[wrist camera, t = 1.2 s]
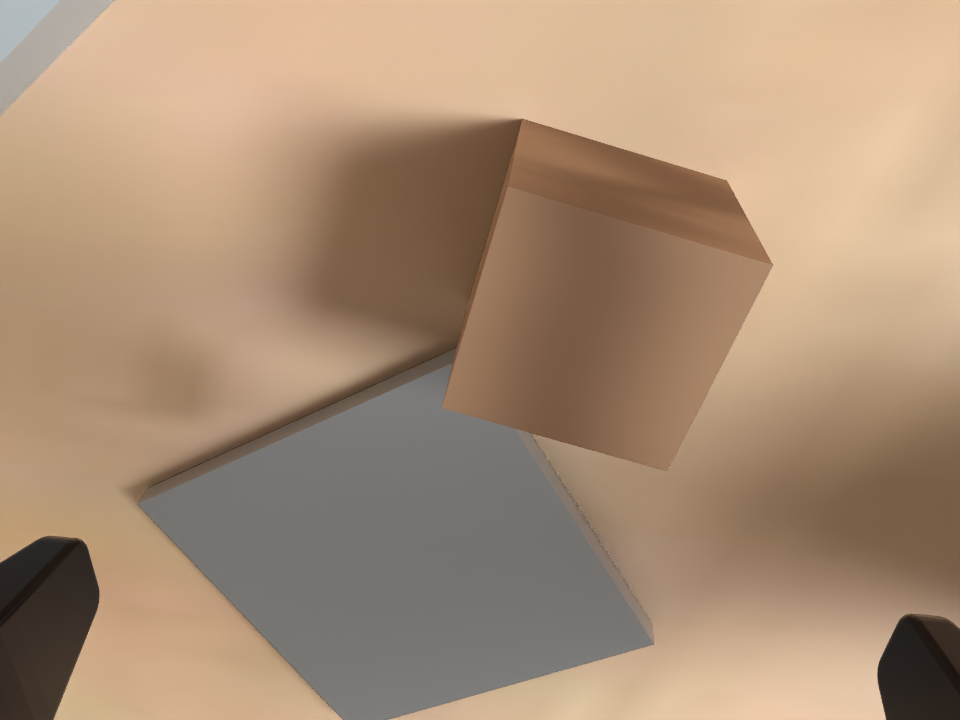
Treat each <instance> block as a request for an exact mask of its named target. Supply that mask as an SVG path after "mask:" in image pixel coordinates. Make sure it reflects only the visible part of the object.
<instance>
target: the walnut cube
mask: <svg viewBox="0 0 960 720" xmlns="http://www.w3.org/2000/svg"><path fill="white" fill-rule="evenodd" d="M772 266H773V264H772V263H771V261H770V259H769V257H768V255H767V253H766V252H765V250H764V248H763V246H762V244H761V242H760V241H759V239H758V237H757V235H756V233H755V231H754V230H753V228H752V226H751V224H750V222H749V220H748V219H747V217H746V215H745V213H744V211H743V209H742V208H741V206H740V204H739V202H738V200H737V198H736V197H735V195H734V193H733V191H732V189H731V187H730V186H729V184H728V182H727V181H726V180H723V179H720V178H716V177H713V176H710V175H706V174H703V173H700V172H696V171H693V170H690V169H687V168H683V167H680V166H677V165H673V164H670V163H667V162H663V161H660V160H657V159H653V158H650V157H647V156H644V155H640V154H637V153H634V152H630V151H627V150H624V149H620V148H617V147H614V146H611V145H607V144H604V143H601V142H597V141H594V140H591V139H587V138H584V137H581V136H577V135H574V134H571V133H568V132H564V131H561V130H558V129H554V128H551V127H548V126H544V125H541V124H538V123H535V122H531V121H528V120H525V119H522V122H521V125H520V129H519V132H518V136H517V139H516V142H515V146H514V149H513V153H512V156H511V159H510V163H509V166H508V169H507V173H506V176H505V180H504V183H503V186H502V190H501V193H500V196H499V200H498V203H497V207H496V210H495V213H494V217H493V220H492V224H491V227H490V230H489V234H488V237H487V240H486V244H485V247H484V251H483V254H482V257H481V261H480V264H479V268H478V271H477V274H476V278H475V281H474V284H473V288H472V291H471V295H470V298H469V301H468V305H467V309H466V313H465V317H464V321H463V325H462V329H461V333H460V337H459V341H458V345H457V349H456V353H455V357H454V361H453V365H452V369H451V373H450V377H449V380H448V384H447V388H446V392H445V396H444V400H443V404H442V408H444V409H447V410H451V411H454V412H458V413H461V414H465V415H469V416H472V417H476V418H479V419H483V420H486V421H490V422H493V423H497V424H501V425H504V426H508V427H511V428H515V429H518V430H522V431H526V432H529V433H533V434H536V435H540V436H543V437H547V438H550V439H554V440H558V441H561V442H565V443H568V444H572V445H575V446H579V447H582V448H586V449H590V450H593V451H597V452H600V453H604V454H607V455H611V456H614V457H618V458H622V459H625V460H629V461H632V462H636V463H639V464H643V465H646V466H650V467H654V468H657V469H661V470H664V471H668V469H669V467H670V465H671V463H672V461H673V459H674V457H675V455H676V453H677V451H678V449H679V447H680V445H681V444H682V442H683V440H684V438H685V436H686V434H687V432H688V430H689V428H690V426H691V424H692V422H693V420H694V418H695V416H696V414H697V412H698V410H699V408H700V406H701V405H702V403H703V401H704V399H705V397H706V395H707V393H708V391H709V389H710V387H711V385H712V383H713V381H714V379H715V377H716V375H717V373H718V371H719V369H720V368H721V366H722V364H723V362H724V360H725V358H726V356H727V354H728V352H729V350H730V348H731V346H732V344H733V342H734V340H735V338H736V336H737V334H738V332H739V331H740V329H741V327H742V325H743V323H744V321H745V319H746V317H747V315H748V313H749V311H750V309H751V307H752V305H753V303H754V301H755V299H756V297H757V295H758V293H759V292H760V290H761V288H762V286H763V284H764V282H765V280H766V278H767V276H768V274H769V272H770V270H771V268H772Z"/></svg>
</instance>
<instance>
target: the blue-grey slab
mask: <svg viewBox="0 0 960 720" xmlns="http://www.w3.org/2000/svg"><path fill="white" fill-rule="evenodd" d="M113 1H114V0H0V116H1V115H2V114H3V113H4V112H5V110H6V109H7V108H8V107H9V106H10V105H11V104H12V103H13V102H14V101H15V100H16V99H17V98H18V97H19V96H20V95H21V94H22V93H23V92H24V91H25V90H26V89H27V88H28V87H29V86H30V85H31V84H32V83H33V82H34V81H35V80H36V79H37V78H38V77H39V76H40V75H41V74H42V73H43V72H44V71H45V70H46V69H47V68H48V67H49V66H50V65H51V64H52V63H53V62H54V61H55V60H56V59H57V58H58V57H59V56H60V55H61V54H62V53H63V52H64V51H65V50H66V49H67V48H68V47H69V46H70V45H71V44H72V43H73V42H74V41H75V40H76V39H77V38H78V37H79V36H80V35H81V34H82V33H83V32H84V31H85V30H86V29H87V28H88V27H89V26H90V25H91V24H92V23H93V22H94V21H95V20H96V19H97V17H98V16H99V15H100V14H101V13H102V12H103V11H104V10H105V9H106V8H107V7H108V6H109V5H110V4H111V3H112V2H113Z"/></svg>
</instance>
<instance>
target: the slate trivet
mask: <svg viewBox="0 0 960 720" xmlns="http://www.w3.org/2000/svg"><path fill="white" fill-rule="evenodd" d="M456 349H457V348H455V349H453V350H450V351H448V352H446V353H444V354H442V355H439V356H437V357H435V358H433V359H431V360H428V361H426V362H424V363H422V364H420V365H417V366H415V367H413V368H411V369H409V370H407V371H404V372H402V373H400V374H398V375H396V376H393V377H391V378H389V379H387V380H385V381H382V382H380V383H378V384H376V385H374V386H371V387H369V388H367V389H365V390H363V391H360V392H358V393H356V394H354V395H352V396H349V397H347V398H345V399H343V400H341V401H338V402H336V403H334V404H332V405H330V406H327V407H325V408H323V409H321V410H319V411H316V412H314V413H312V414H310V415H308V416H305V417H303V418H301V419H299V420H297V421H294V422H292V423H290V424H288V425H286V426H283V427H281V428H279V429H277V430H275V431H272V432H270V433H268V434H266V435H264V436H261V437H259V438H257V439H255V440H253V441H250V442H248V443H246V444H244V445H242V446H239V447H237V448H235V449H233V450H231V451H228V452H226V453H224V454H222V455H220V456H217V457H215V458H213V459H211V460H209V461H206V462H204V463H202V464H200V465H198V466H195V467H193V468H191V469H189V470H187V471H184V472H182V473H180V474H178V475H176V476H173V477H171V478H169V479H167V480H165V481H162V482H160V483H158V484H156V485H154V486H151V487H149V488H148V490H147V491H146V492H145V494H144V495H143V497H142V498H141V499H140V501H139V502H138V504H137V505H138V506H139V507H140V508H141V509H142V510H143V511H144V512H145V513H146V514H147V515H148V516H149V517H150V518H151V519H152V521H153V522H154V523H155V524H156V525H157V526H158V527H159V528H160V529H161V530H162V531H163V532H164V533H165V534H166V535H167V536H168V537H169V538H170V539H171V540H172V541H173V543H174V544H175V545H176V546H177V547H178V548H179V549H180V550H181V551H182V552H183V553H184V554H185V555H186V556H187V557H188V558H189V559H190V560H191V561H192V562H193V563H194V564H195V566H196V567H197V568H198V569H199V570H200V571H201V572H202V573H203V574H204V575H205V576H206V577H207V578H208V579H209V580H210V581H211V582H212V583H213V584H214V585H215V586H216V588H217V589H218V590H219V591H220V592H221V593H222V594H223V595H224V596H225V597H226V598H227V599H228V600H229V601H230V602H231V603H232V604H233V605H234V606H235V607H236V608H237V610H238V611H239V612H240V613H241V614H242V615H243V616H244V617H245V618H246V619H247V620H248V621H249V622H250V623H251V624H252V625H253V626H254V627H255V628H256V629H257V630H258V631H259V633H260V634H261V635H262V636H263V637H264V638H265V639H266V640H267V641H268V642H269V643H270V644H271V645H272V646H273V647H274V648H275V649H276V650H277V651H278V652H279V653H280V655H281V656H282V657H283V658H284V659H285V660H286V661H287V662H288V663H289V664H290V665H291V666H292V667H293V668H294V669H295V670H296V671H297V672H298V673H299V674H300V675H301V677H302V678H303V679H304V680H305V681H306V682H307V683H308V684H309V685H310V686H311V687H312V688H313V689H314V690H315V691H316V692H317V693H318V694H319V695H320V696H321V697H322V699H323V700H324V701H325V702H326V703H327V704H328V705H329V706H330V707H331V708H332V709H333V710H334V711H335V712H336V713H337V714H338V715H339V716H340V717H341V718H342V719H343V720H389V719H392V718H396V717H399V716H403V715H406V714H410V713H413V712H417V711H420V710H424V709H427V708H431V707H435V706H438V705H442V704H445V703H449V702H452V701H456V700H459V699H463V698H466V697H470V696H473V695H477V694H480V693H484V692H488V691H491V690H495V689H498V688H502V687H505V686H509V685H512V684H516V683H519V682H523V681H526V680H530V679H533V678H537V677H541V676H544V675H548V674H551V673H555V672H558V671H562V670H565V669H569V668H572V667H576V666H579V665H583V664H586V663H590V662H593V661H597V660H601V659H604V658H608V657H611V656H615V655H618V654H622V653H625V652H629V651H632V650H636V649H639V648H643V647H646V646H650V645H654V638H653V629H652V624H651V622H650V621H649V619H648V617H647V616H646V614H645V613H644V611H643V610H642V608H641V606H640V605H639V603H638V602H637V600H636V599H635V597H634V595H633V594H632V592H631V591H630V589H629V588H628V586H627V584H626V583H625V581H624V580H623V578H622V577H621V575H620V574H619V572H618V570H617V569H616V567H615V566H614V564H613V563H612V561H611V559H610V558H609V556H608V555H607V553H606V552H605V550H604V548H603V547H602V545H601V544H600V542H599V541H598V539H597V537H596V536H595V534H594V533H593V531H592V530H591V528H590V526H589V525H588V523H587V522H586V520H585V519H584V517H583V515H582V514H581V512H580V511H579V509H578V508H577V506H576V504H575V503H574V501H573V500H572V498H571V497H570V495H569V494H568V492H567V490H566V489H565V487H564V486H563V484H562V483H561V481H560V479H559V478H558V476H557V475H556V473H555V472H554V470H553V468H552V467H551V465H550V464H549V462H548V461H547V459H546V457H545V456H544V454H543V453H542V451H541V450H540V448H539V446H538V445H537V443H536V442H535V440H534V439H533V437H532V435H531V434H530V433H529V432H526V431H522V430H518V429H515V428H511V427H508V426H504V425H501V424H497V423H493V422H490V421H486V420H483V419H479V418H476V417H472V416H469V415H465V414H461V413H458V412H454V411H451V410H447V409H444V408H442V404H443V400H444V396H445V392H446V388H447V384H448V380H449V377H450V373H451V369H452V365H453V361H454V357H455V353H456Z"/></svg>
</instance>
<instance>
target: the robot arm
mask: <svg viewBox="0 0 960 720" xmlns="http://www.w3.org/2000/svg"><path fill="white" fill-rule="evenodd" d="M98 604H99V587H98V583H97V580H96V576H95V573H94V569H93V566H92V562H91V558H90V555H89V551H88V548H87V546H86V544H85V543H84V542H83V541H82V540H81V539H78V538H69V537H58V536H46V537H43V538H40V539H38V540H36V541H35V542H33V543H31V544H30V545H28V546H27V547H25V548H23V549H22V550H20V551H18V552H17V553H15V554H14V555H12V556H10V557H9V558H7V559H6V560H4V561H2V562H1V563H0V720H54V717H55V715H56V712H57V710H58V707H59V705H60V702H61V700H62V697H63V694H64V692H65V689H66V687H67V684H68V682H69V679H70V677H71V674H72V672H73V669H74V667H75V664H76V662H77V659H78V657H79V654H80V652H81V649H82V647H83V644H84V642H85V639H86V637H87V634H88V632H89V629H90V627H91V624H92V622H93V619H94V616H95V614H96V611H97V608H98ZM877 676H878V685H879V690H880V694H881V699H882V703H883V708H884V712H885V716H886V720H960V628H958V627H957V626H956V625H955V624H954V623H952V622H951V621H950V620H948V619H946V618H943V617H940V616H931V615H920V614H906V615H905V616H903V617H902V618H901V619H900V620H899V622H898V624H897V626H896V628H895V630H894V632H893V634H892V636H891V638H890V640H889V642H888V644H887V646H886V648H885V650H884V653H883V655H882V657H881V659H880V661H879V665H878V674H877Z"/></svg>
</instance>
